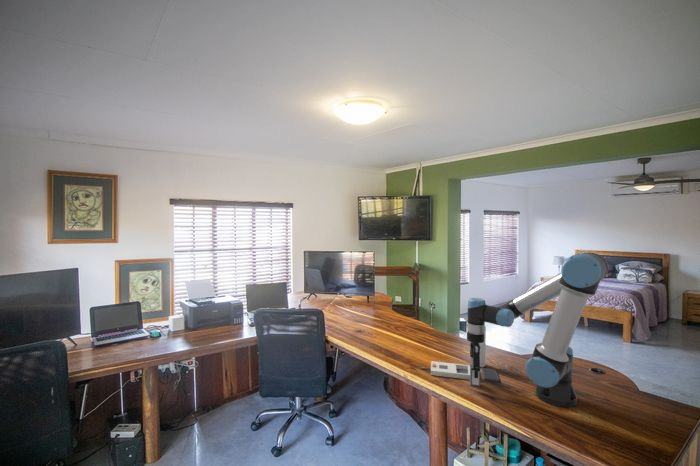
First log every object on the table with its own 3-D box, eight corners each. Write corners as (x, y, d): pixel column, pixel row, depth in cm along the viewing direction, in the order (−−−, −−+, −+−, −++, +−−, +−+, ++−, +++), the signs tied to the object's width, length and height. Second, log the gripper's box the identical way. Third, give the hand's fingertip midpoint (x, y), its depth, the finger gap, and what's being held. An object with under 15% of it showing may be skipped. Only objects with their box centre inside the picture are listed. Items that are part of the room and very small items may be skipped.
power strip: (476, 370, 171) (476, 364, 171) (478, 380, 159) (478, 374, 159) (420, 364, 178) (420, 358, 178) (419, 373, 167) (419, 367, 166)
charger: (478, 382, 157) (479, 365, 157) (479, 386, 154) (480, 368, 153) (469, 381, 158) (470, 364, 158) (470, 385, 155) (470, 367, 154)
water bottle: (487, 365, 177) (488, 317, 177) (481, 368, 173) (482, 320, 172) (471, 360, 184) (472, 314, 183) (465, 363, 179) (466, 316, 179)
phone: (495, 372, 169) (495, 369, 169) (499, 383, 158) (499, 379, 158) (481, 371, 171) (481, 367, 171) (484, 381, 160) (484, 378, 160)
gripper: (465, 323, 169) (463, 365, 169) (469, 340, 144) (467, 389, 145) (481, 325, 167) (479, 367, 167) (487, 342, 143) (486, 391, 143)
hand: (474, 377), depth 156 cm, fingers open, 13 cm apart
